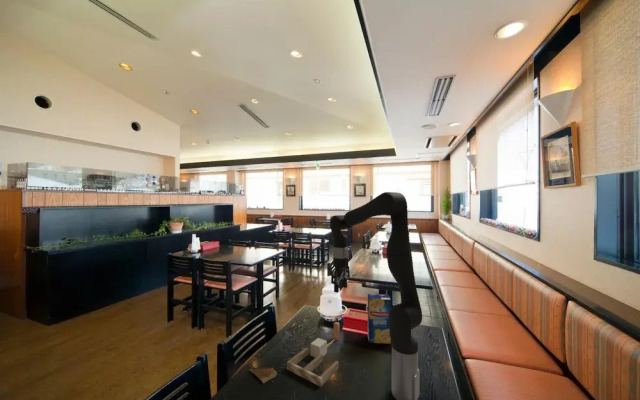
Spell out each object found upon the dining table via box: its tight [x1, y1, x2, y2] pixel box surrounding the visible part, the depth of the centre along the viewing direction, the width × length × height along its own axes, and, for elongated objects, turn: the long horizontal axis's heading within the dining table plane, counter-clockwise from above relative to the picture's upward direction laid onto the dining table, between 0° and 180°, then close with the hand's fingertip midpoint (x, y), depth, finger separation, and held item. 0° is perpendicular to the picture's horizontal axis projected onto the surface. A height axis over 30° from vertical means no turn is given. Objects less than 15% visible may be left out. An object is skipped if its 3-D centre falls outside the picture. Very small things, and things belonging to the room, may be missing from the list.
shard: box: [248, 367, 277, 384], centre depth 104 cm, size 11×8×2 cm
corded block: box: [310, 321, 341, 359], centre depth 123 cm, size 5×20×8 cm, turn 145°
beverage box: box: [367, 293, 392, 345], centre depth 130 cm, size 7×11×22 cm, turn 85°
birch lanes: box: [286, 347, 340, 388], centre depth 106 cm, size 18×13×3 cm
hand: (340, 289), depth 122 cm, fingers open, 8 cm apart
